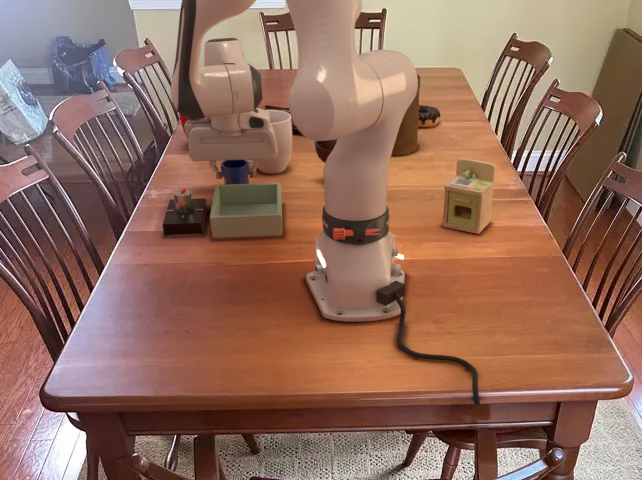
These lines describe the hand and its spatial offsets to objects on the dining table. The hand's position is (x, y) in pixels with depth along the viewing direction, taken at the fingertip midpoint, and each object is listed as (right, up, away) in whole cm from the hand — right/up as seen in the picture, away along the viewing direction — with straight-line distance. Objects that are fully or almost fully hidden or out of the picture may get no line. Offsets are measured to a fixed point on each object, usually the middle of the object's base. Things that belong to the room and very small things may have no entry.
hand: (236, 177), depth 165 cm
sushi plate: (+10, +33, +47) cm, 58 cm away
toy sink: (+52, -14, -12) cm, 55 cm away
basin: (+4, -13, -11) cm, 18 cm away
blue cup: (0, -2, +1) cm, 2 cm away
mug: (+6, +6, +14) cm, 16 cm away
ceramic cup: (-12, +16, +26) cm, 32 cm away
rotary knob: (-9, -11, -14) cm, 20 cm away
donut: (+48, +30, +43) cm, 71 cm away
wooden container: (+38, +17, +27) cm, 49 cm away
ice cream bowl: (+24, +1, +7) cm, 25 cm away
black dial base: (-9, -14, -12) cm, 20 cm away
